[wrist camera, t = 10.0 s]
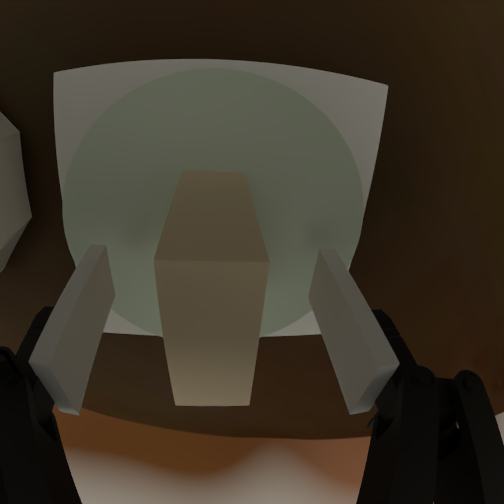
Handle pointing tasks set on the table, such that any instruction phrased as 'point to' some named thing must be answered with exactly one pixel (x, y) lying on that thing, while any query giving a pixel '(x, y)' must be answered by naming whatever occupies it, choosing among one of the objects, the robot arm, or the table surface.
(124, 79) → the mat
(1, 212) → the bowl
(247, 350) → the lid
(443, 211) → the table surface
